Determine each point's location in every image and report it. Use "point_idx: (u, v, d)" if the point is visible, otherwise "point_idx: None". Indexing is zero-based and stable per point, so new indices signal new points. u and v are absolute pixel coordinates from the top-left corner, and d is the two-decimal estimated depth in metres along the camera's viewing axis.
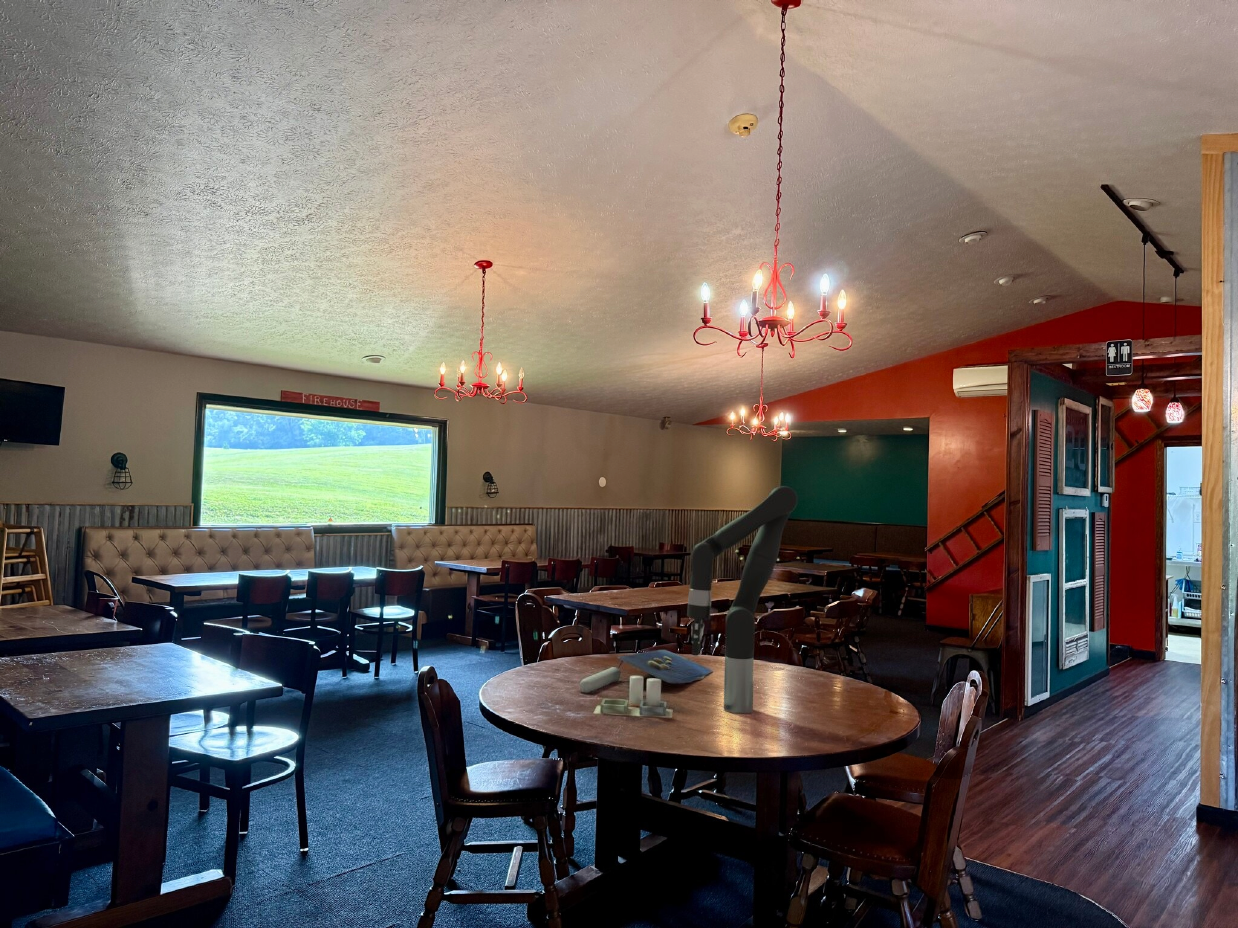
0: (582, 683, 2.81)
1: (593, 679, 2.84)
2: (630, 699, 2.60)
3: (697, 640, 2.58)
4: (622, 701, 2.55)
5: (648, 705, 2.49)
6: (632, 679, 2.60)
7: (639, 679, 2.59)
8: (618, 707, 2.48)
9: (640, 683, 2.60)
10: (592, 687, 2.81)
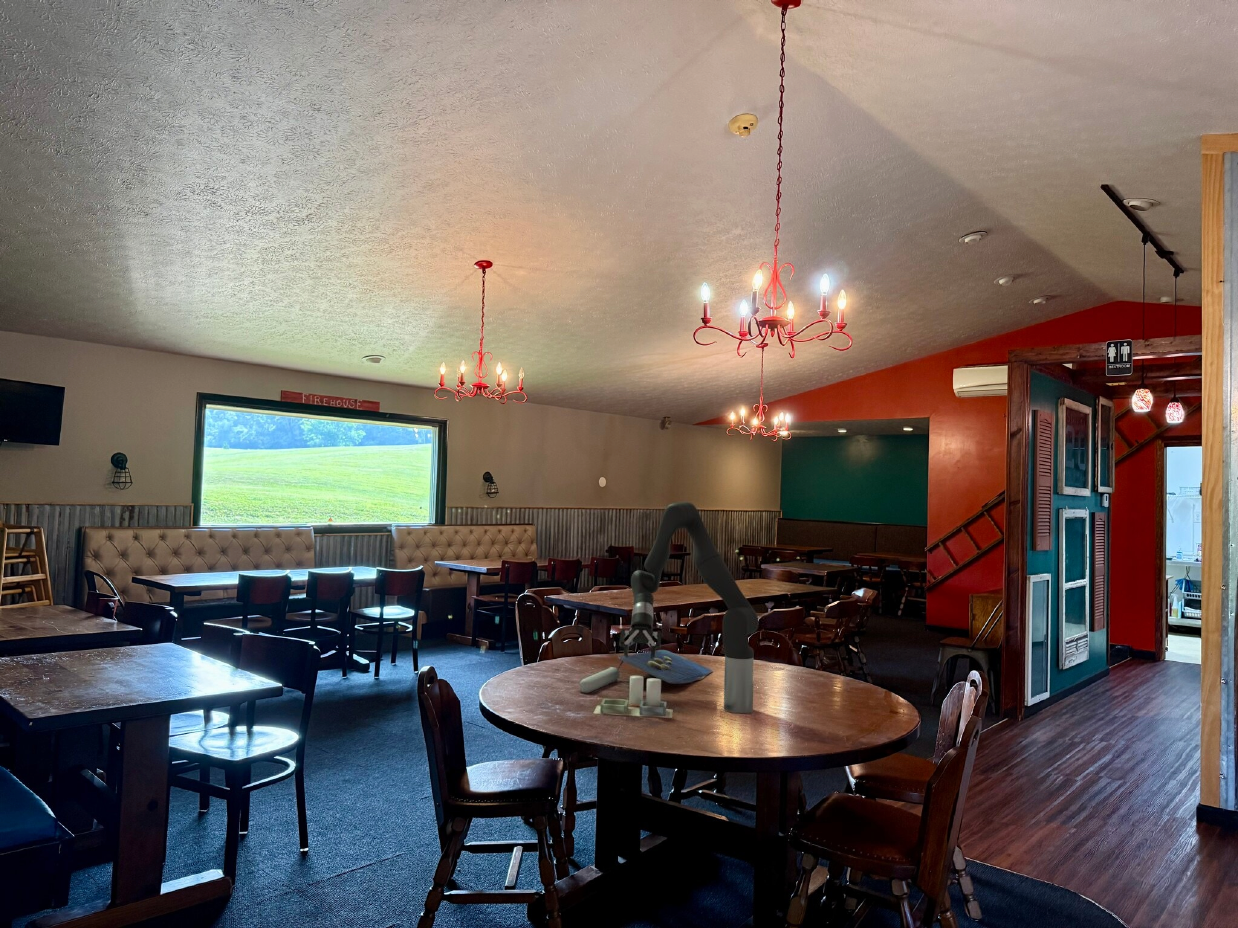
0: (582, 683, 2.81)
1: (593, 679, 2.84)
2: (630, 699, 2.60)
3: None
4: (622, 701, 2.55)
5: (648, 705, 2.49)
6: (632, 679, 2.60)
7: (639, 679, 2.59)
8: (618, 707, 2.48)
9: (640, 683, 2.60)
10: (592, 687, 2.81)
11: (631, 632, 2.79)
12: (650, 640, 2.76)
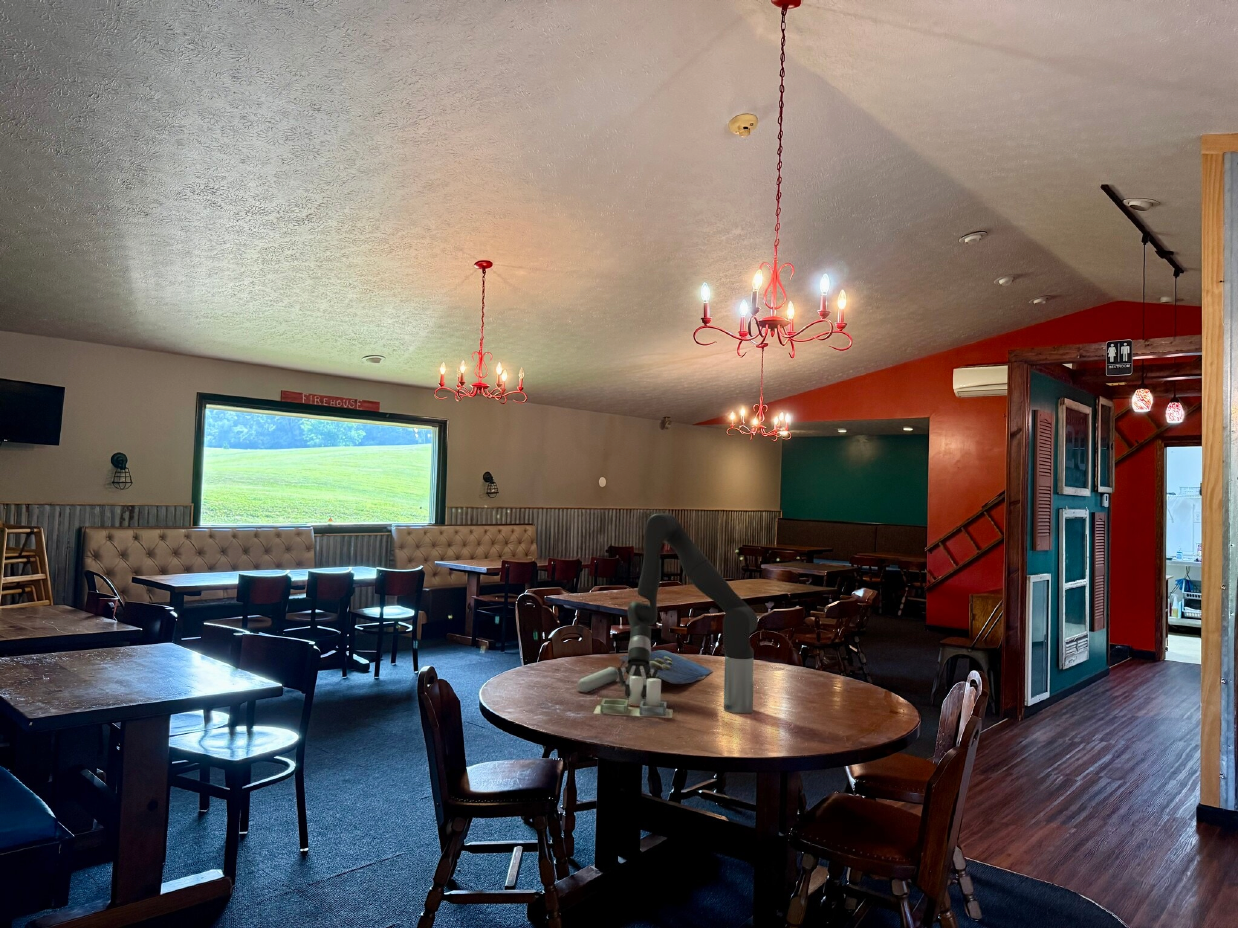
0: (580, 683, 2.81)
1: (591, 679, 2.84)
2: (630, 699, 2.60)
3: None
4: (622, 701, 2.55)
5: (648, 705, 2.49)
6: (632, 679, 2.60)
7: (639, 679, 2.59)
8: (618, 707, 2.48)
9: (640, 683, 2.60)
10: (590, 687, 2.82)
11: (628, 668, 2.66)
12: (643, 678, 2.63)
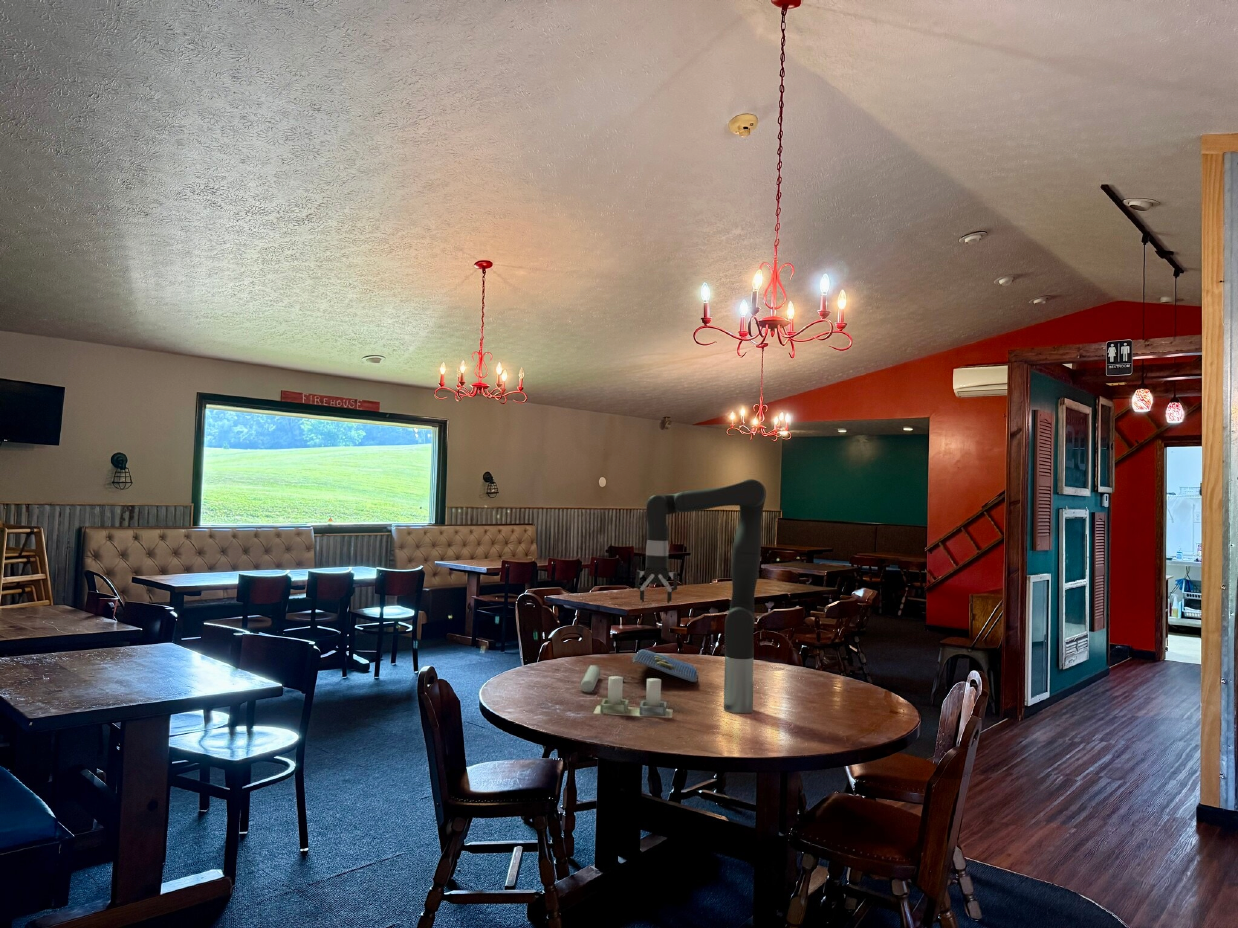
0: (585, 683, 2.81)
1: (592, 678, 2.85)
2: (609, 700, 2.51)
3: (635, 586, 2.72)
4: (622, 701, 2.55)
5: (648, 705, 2.49)
6: (611, 680, 2.51)
7: (618, 680, 2.50)
8: (618, 707, 2.48)
9: (619, 684, 2.50)
10: (594, 686, 2.83)
11: (646, 575, 2.72)
12: (666, 585, 2.71)
